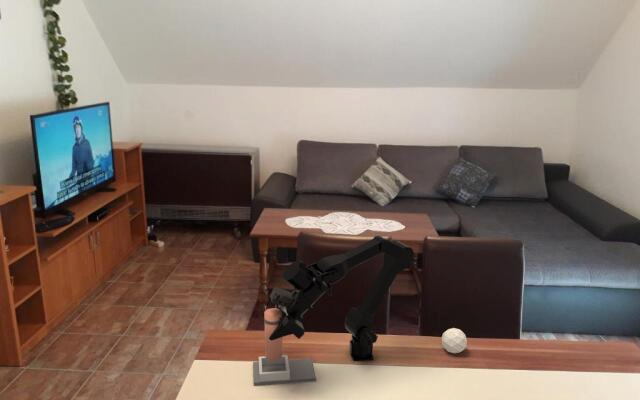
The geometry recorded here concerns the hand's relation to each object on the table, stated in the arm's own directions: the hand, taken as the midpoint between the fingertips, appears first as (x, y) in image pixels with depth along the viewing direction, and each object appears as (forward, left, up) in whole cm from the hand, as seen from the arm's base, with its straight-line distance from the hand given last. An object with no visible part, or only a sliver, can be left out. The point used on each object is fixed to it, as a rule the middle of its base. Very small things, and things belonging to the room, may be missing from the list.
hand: (268, 334), depth 145 cm
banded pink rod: (-1, 0, -7) cm, 7 cm away
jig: (-4, 0, -13) cm, 14 cm away
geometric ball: (-59, -6, -14) cm, 61 cm away
